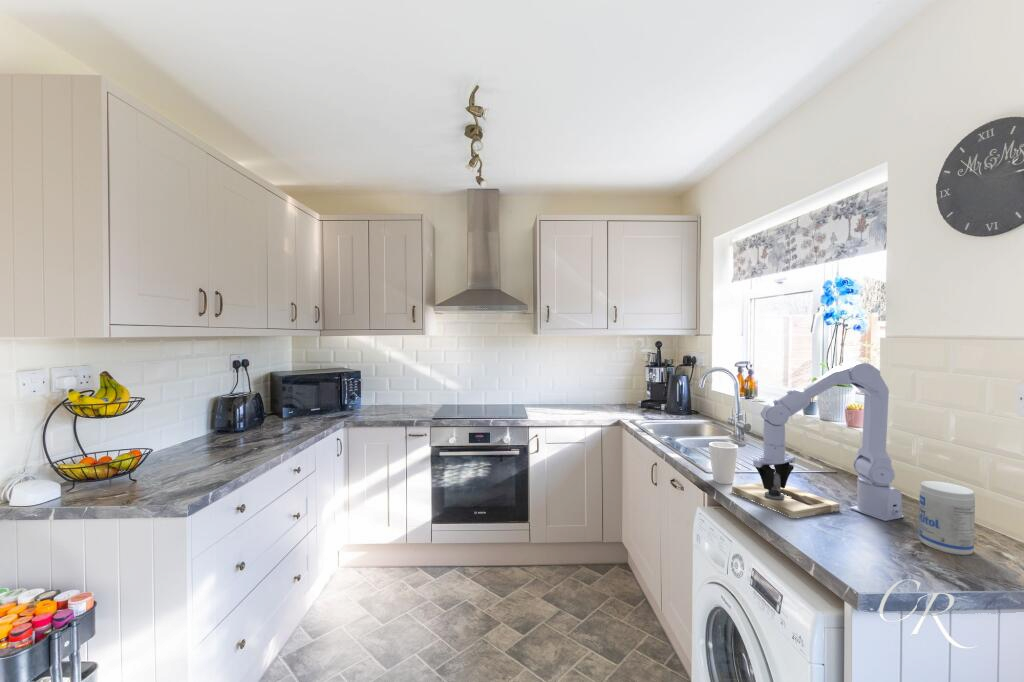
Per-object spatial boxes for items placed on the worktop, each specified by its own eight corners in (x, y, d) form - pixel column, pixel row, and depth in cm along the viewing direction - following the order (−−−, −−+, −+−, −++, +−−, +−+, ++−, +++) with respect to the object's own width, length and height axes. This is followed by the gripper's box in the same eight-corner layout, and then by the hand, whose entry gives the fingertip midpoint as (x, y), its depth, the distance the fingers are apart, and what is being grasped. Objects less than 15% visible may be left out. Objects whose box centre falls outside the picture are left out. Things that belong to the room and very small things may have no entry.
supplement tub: (908, 538, 110) (908, 480, 110) (942, 536, 111) (942, 479, 111) (950, 557, 101) (950, 494, 101) (986, 555, 102) (986, 492, 102)
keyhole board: (839, 510, 128) (839, 503, 128) (793, 518, 123) (793, 511, 123) (773, 486, 149) (773, 480, 149) (732, 492, 144) (732, 486, 144)
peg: (788, 499, 132) (788, 474, 132) (775, 501, 130) (775, 476, 130) (773, 493, 137) (773, 469, 137) (760, 495, 135) (760, 471, 135)
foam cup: (735, 487, 149) (735, 449, 148) (706, 482, 154) (706, 445, 154) (740, 480, 156) (740, 444, 156) (712, 475, 162) (712, 440, 162)
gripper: (780, 439, 140) (780, 481, 140) (745, 442, 135) (745, 486, 135) (801, 444, 133) (801, 488, 133) (764, 448, 128) (764, 494, 129)
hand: (774, 488), depth 134 cm, fingers open, 5 cm apart
